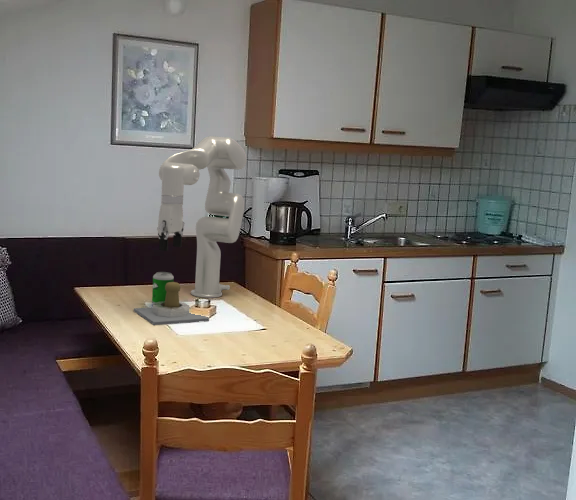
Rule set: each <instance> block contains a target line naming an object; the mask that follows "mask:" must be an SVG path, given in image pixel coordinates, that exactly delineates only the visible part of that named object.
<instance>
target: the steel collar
mask: <svg viewBox="0 0 576 500" xmlns="http://www.w3.org/2000/svg"><path fill="white" fill-rule="evenodd" d="M164 304H165V301H161V302H157V303H155V304H153V303H152V307H153V313H154V314H156V315H157V316H162V317H170V318H173V317H184V316H186V315H188V314H189V307H190V305H189V304H188V303H186V302H183V301H179V305H180V307H173V308H170V307H164Z"/></svg>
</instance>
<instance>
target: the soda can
mask: <svg viewBox="0 0 576 500" xmlns="http://www.w3.org/2000/svg"><path fill="white" fill-rule="evenodd" d="M168 282H175V281H174V275H173V274H172V273H171V272H166V271H158V272H156V273H155V274H153V276H152V290H151V291H152V294H151V295H152V296H151V303H152V305H153V304H155V303H157V302H161V301H165V298H166V293H167V291H166V289H165V286H166V284H167V283H168Z"/></svg>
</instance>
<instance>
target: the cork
mask: <svg viewBox="0 0 576 500" xmlns="http://www.w3.org/2000/svg"><path fill="white" fill-rule="evenodd" d="M165 289H166V291H167V293H166V298H165V304H164V307H170V308H173V307H180V305H179V302H180V296H179V292H180V291H181V285H180V283H178V282H176V281H174V282H168V283H167V284H166V286H165Z"/></svg>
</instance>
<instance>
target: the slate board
mask: <svg viewBox="0 0 576 500" xmlns="http://www.w3.org/2000/svg"><path fill="white" fill-rule="evenodd" d="M189 308H191V307H190V306H189ZM133 312H134V313H136V314H137V315H138V316H140V317H141V318H143V319H144V320H146V321H147V322H149V323H150V324H152V326H160V325H174V324H188V323H200V322H199V321H204V322H209V321H210V317H207V316H206V315H204V316H201V315H195V314H191V313H189V314H188V315H186V316H184V317H173V318H170V317H162V316H157V315H156V314H154V313H153V306H151V307H135V308H134V307H133Z"/></svg>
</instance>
